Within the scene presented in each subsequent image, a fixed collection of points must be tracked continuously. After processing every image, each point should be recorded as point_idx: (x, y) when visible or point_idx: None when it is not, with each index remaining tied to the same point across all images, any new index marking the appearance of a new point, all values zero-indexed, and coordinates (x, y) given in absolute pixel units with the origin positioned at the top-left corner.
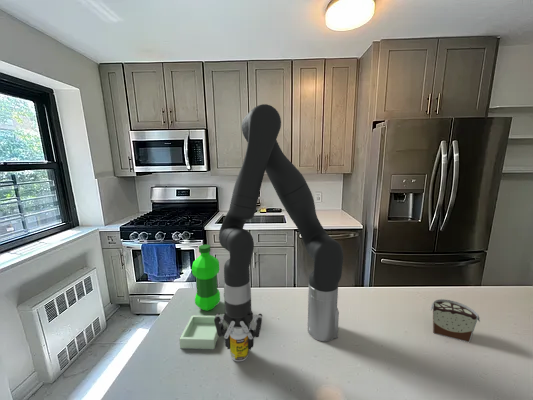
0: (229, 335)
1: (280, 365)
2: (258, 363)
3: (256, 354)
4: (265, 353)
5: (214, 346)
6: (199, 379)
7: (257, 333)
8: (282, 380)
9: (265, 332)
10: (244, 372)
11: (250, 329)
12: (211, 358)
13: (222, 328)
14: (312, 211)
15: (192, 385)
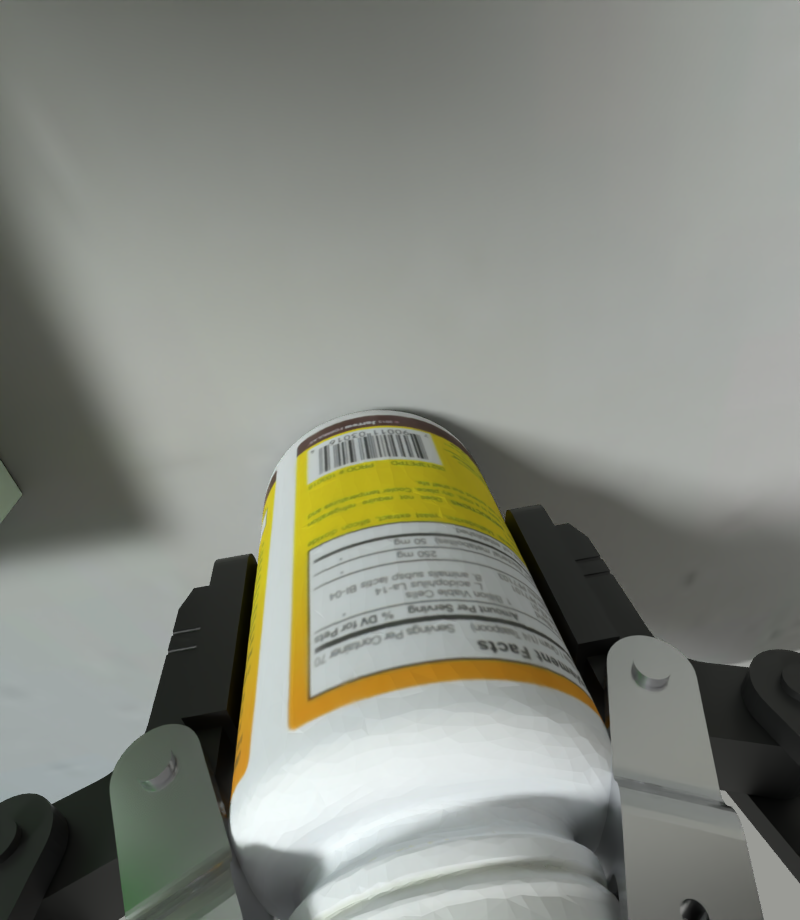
0: (230, 740)
1: (766, 512)
2: None
3: (555, 457)
4: (653, 427)
5: (2, 491)
6: (128, 726)
7: (794, 817)
8: (742, 603)
9: (712, 26)
10: None
11: (663, 752)
12: (87, 588)
13: (28, 907)
14: None
15: (110, 758)
